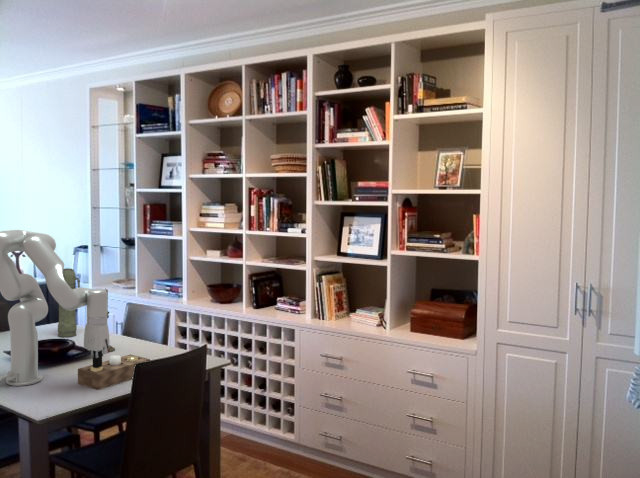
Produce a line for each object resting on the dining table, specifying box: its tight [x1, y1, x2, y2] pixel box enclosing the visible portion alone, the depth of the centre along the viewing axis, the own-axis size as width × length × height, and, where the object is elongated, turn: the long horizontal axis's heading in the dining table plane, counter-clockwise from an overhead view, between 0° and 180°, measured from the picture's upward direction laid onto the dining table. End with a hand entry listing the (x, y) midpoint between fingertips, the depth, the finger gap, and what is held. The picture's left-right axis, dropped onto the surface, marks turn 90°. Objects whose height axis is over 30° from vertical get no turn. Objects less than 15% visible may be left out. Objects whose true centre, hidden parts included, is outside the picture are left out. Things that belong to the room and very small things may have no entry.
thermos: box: [57, 267, 81, 339], centre depth 297 cm, size 9×12×35 cm
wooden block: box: [77, 353, 151, 391], centre depth 233 cm, size 26×12×6 cm, turn 150°
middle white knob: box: [108, 354, 122, 366], centre depth 233 cm, size 4×4×6 cm
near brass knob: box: [91, 366, 103, 372], centre depth 225 cm, size 4×4×6 cm
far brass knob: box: [127, 355, 138, 361], centre depth 240 cm, size 4×4×6 cm
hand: (97, 366), depth 225 cm, fingers closed
